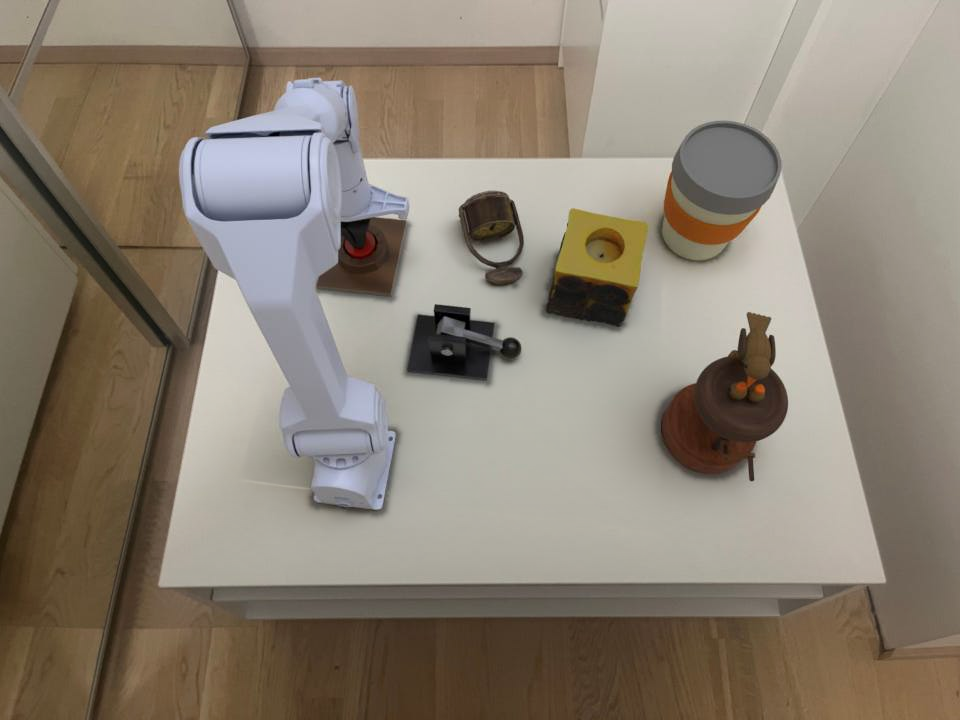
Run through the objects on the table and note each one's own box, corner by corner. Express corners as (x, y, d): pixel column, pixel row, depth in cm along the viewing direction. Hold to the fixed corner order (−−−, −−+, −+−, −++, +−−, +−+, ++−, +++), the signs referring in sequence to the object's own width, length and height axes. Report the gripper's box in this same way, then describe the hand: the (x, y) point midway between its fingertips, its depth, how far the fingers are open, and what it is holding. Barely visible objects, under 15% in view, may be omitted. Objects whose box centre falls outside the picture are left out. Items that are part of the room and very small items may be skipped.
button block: (391, 298, 89) (389, 286, 86) (318, 290, 89) (313, 278, 86) (407, 225, 94) (405, 211, 91) (337, 218, 94) (333, 204, 92)
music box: (648, 381, 83) (711, 298, 65) (732, 381, 84) (818, 299, 66) (668, 502, 77) (744, 448, 59) (759, 500, 78) (862, 446, 60)
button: (373, 264, 89) (371, 256, 87) (344, 261, 89) (341, 253, 88) (379, 239, 91) (377, 231, 89) (350, 236, 91) (348, 228, 89)
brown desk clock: (539, 186, 90) (467, 169, 88) (533, 260, 83) (455, 242, 82) (524, 222, 96) (456, 205, 94) (518, 293, 89) (445, 277, 88)
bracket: (494, 326, 87) (495, 299, 81) (487, 382, 83) (487, 358, 77) (418, 317, 87) (413, 290, 81) (408, 373, 84) (402, 349, 78)
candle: (544, 314, 87) (552, 272, 78) (559, 252, 92) (567, 205, 83) (621, 330, 86) (638, 290, 77) (632, 266, 91) (649, 221, 82)
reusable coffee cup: (651, 269, 90) (681, 197, 77) (646, 195, 96) (674, 116, 82) (744, 273, 90) (791, 202, 77) (734, 199, 95) (776, 120, 82)
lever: (517, 345, 85) (526, 337, 83) (514, 365, 84) (524, 357, 82) (437, 322, 82) (444, 312, 80) (434, 342, 81) (441, 333, 79)
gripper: (408, 151, 77) (418, 223, 90) (287, 140, 78) (313, 212, 90) (398, 199, 74) (409, 267, 87) (271, 187, 75) (301, 255, 87)
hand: (359, 242), depth 88 cm, fingers closed, pressing on button
